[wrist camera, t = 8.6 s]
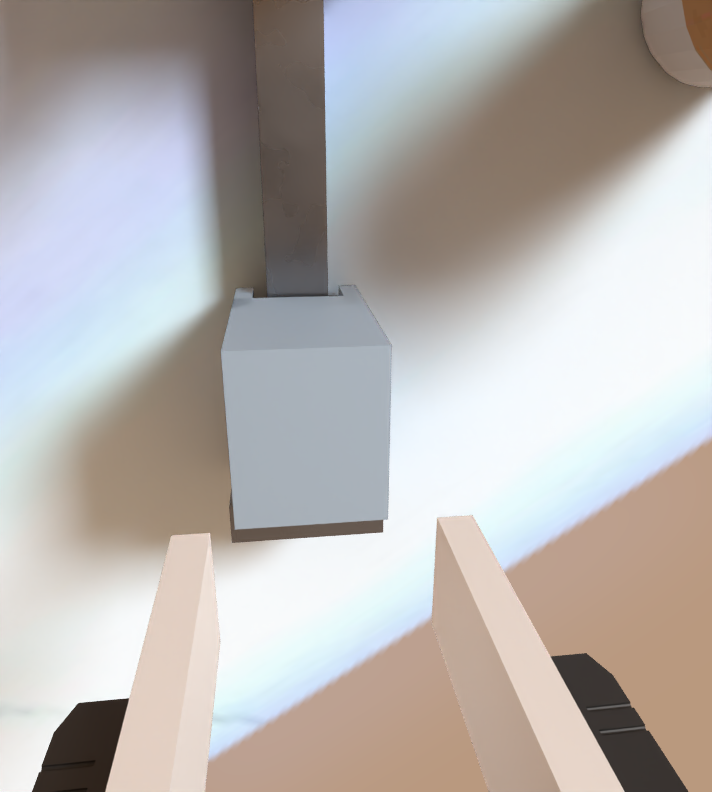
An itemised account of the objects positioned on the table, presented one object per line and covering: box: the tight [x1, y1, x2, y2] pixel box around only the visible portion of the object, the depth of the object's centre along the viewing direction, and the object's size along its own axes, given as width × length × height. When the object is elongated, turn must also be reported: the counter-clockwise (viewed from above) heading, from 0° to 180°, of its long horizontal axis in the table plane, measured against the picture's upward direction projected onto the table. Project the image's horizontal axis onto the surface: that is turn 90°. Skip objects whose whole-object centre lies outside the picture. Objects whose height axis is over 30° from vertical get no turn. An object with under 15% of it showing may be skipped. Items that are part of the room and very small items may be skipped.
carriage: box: [221, 285, 392, 530], centre depth 24 cm, size 6×5×9 cm
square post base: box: [229, 489, 383, 543], centre depth 28 cm, size 2×6×6 cm, turn 90°
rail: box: [253, 0, 328, 298], centre depth 26 cm, size 19×2×2 cm, turn 0°
